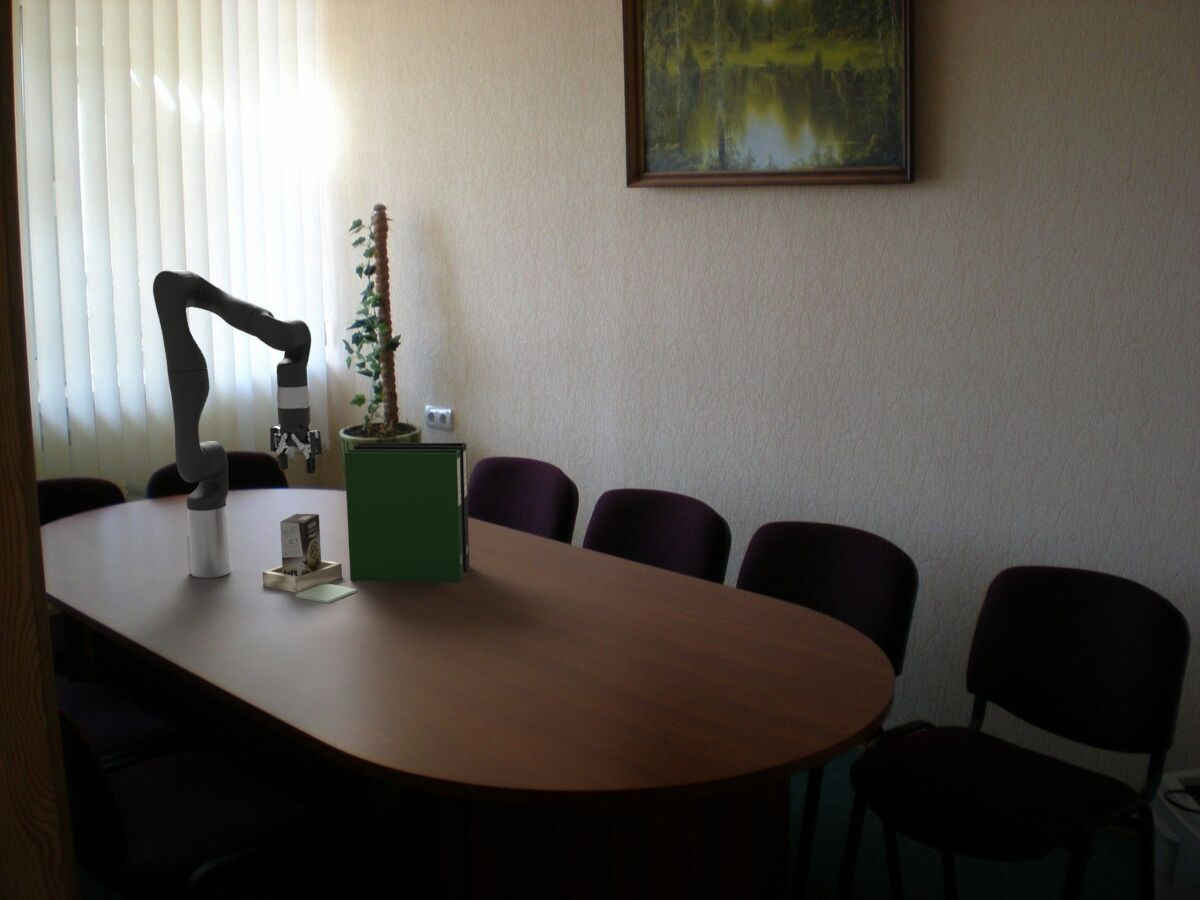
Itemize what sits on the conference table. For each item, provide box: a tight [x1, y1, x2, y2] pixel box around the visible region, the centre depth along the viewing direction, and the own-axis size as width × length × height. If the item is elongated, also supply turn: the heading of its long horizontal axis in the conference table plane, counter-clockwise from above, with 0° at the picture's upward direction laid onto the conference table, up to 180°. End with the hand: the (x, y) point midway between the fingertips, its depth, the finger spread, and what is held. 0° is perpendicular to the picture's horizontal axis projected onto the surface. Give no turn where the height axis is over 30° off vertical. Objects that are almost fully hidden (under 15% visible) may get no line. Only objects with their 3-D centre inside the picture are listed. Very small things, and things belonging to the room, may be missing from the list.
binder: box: [344, 442, 470, 584], centre depth 292 cm, size 27×15×32 cm, turn 87°
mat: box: [295, 583, 358, 604], centre depth 279 cm, size 10×10×1 cm
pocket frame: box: [261, 559, 343, 594], centre depth 289 cm, size 12×15×4 cm
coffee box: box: [279, 513, 322, 577], centre depth 288 cm, size 9×6×16 cm
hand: (297, 471), depth 284 cm, fingers open, 8 cm apart
